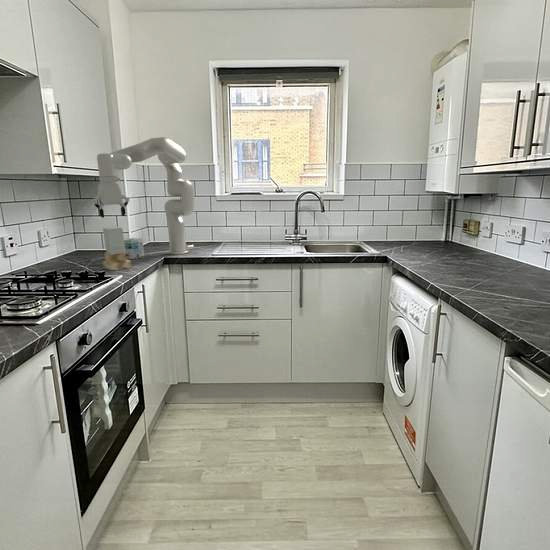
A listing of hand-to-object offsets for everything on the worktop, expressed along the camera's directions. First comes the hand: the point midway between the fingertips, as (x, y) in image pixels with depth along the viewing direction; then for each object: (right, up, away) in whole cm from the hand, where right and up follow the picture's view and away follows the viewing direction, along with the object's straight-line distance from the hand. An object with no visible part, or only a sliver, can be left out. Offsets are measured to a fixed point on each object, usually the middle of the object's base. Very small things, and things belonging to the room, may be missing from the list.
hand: (113, 216), depth 189 cm
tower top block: (-1, -22, +4) cm, 22 cm away
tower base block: (0, -25, +6) cm, 26 cm away
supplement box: (0, -18, +4) cm, 18 cm away
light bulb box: (-1, -19, +33) cm, 38 cm away
